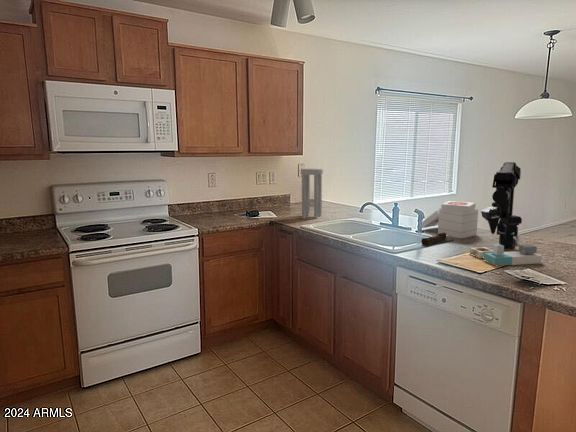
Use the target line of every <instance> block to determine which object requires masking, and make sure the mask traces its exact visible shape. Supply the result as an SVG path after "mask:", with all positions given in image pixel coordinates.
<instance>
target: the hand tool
mask: <svg viewBox="0 0 576 432" xmlns="http://www.w3.org/2000/svg"><path fill="white" fill-rule="evenodd" d="M445 239H446V240H447V236H446V233H439V234H438V233H437V235H435V236H434V235H433V236H431V237H425V238H424V237H423V238H421V245H422V244H423V245H422V246H430V244H431V245H432V244H435V243H438V242H439V241H443V242H445V241H446V240H445ZM444 240H445V241H444ZM439 243H440V242H439Z"/></svg>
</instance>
